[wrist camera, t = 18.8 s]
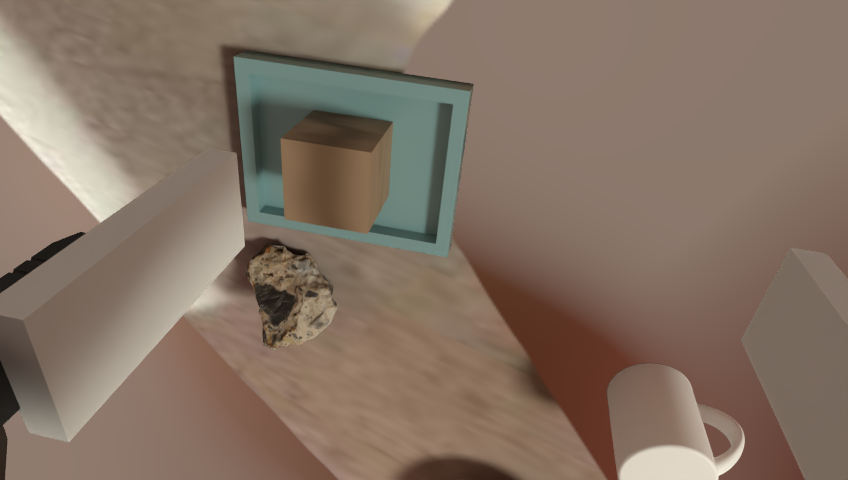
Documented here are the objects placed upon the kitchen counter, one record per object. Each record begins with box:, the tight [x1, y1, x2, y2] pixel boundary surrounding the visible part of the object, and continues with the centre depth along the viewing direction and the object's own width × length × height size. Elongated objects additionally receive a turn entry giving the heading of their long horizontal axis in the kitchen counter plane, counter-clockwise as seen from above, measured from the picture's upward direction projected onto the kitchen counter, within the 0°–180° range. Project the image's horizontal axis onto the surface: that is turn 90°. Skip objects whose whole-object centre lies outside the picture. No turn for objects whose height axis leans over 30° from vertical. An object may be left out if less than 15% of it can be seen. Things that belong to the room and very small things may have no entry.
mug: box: [607, 363, 745, 480], centre depth 52 cm, size 8×10×12 cm
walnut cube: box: [281, 110, 393, 234], centre depth 45 cm, size 7×7×7 cm
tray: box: [234, 51, 473, 257], centre depth 48 cm, size 19×15×2 cm
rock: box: [246, 244, 338, 350], centre depth 55 cm, size 9×7×10 cm
